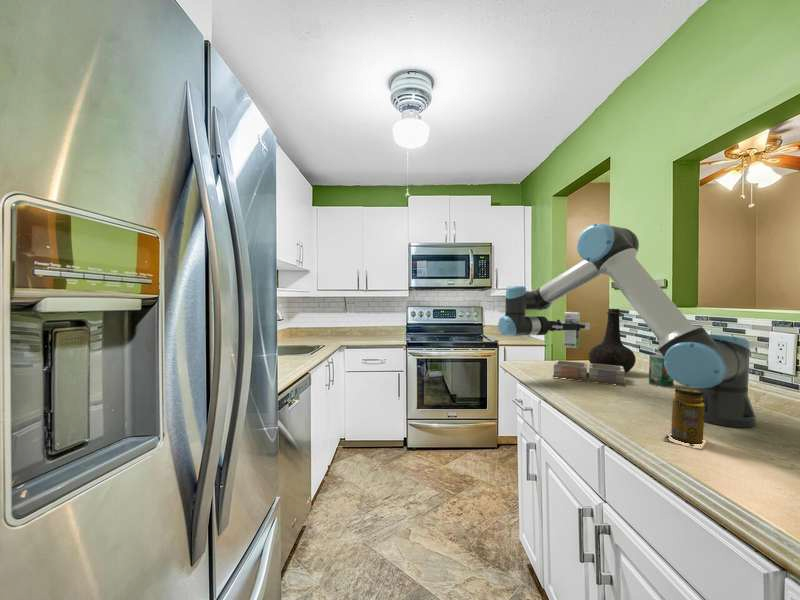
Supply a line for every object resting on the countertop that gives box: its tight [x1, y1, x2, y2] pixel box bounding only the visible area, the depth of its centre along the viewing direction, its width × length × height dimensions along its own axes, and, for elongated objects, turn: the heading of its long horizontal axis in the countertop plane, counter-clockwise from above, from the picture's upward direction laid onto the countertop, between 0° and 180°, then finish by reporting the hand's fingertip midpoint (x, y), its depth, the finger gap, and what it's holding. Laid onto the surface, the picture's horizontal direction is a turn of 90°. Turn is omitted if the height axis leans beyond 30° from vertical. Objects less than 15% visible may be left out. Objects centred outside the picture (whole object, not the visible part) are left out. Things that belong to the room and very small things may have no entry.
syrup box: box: [562, 311, 581, 349], centre depth 159 cm, size 6×6×14 cm
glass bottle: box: [588, 308, 636, 374], centre depth 167 cm, size 18×18×28 cm
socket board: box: [552, 359, 626, 387], centre depth 155 cm, size 15×25×5 cm, turn 63°
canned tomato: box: [648, 354, 675, 389], centre depth 146 cm, size 8×8×11 cm
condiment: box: [662, 386, 708, 447], centre depth 90 cm, size 7×8×12 cm
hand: (581, 325), depth 160 cm, fingers closed on syrup box, 8 cm apart
